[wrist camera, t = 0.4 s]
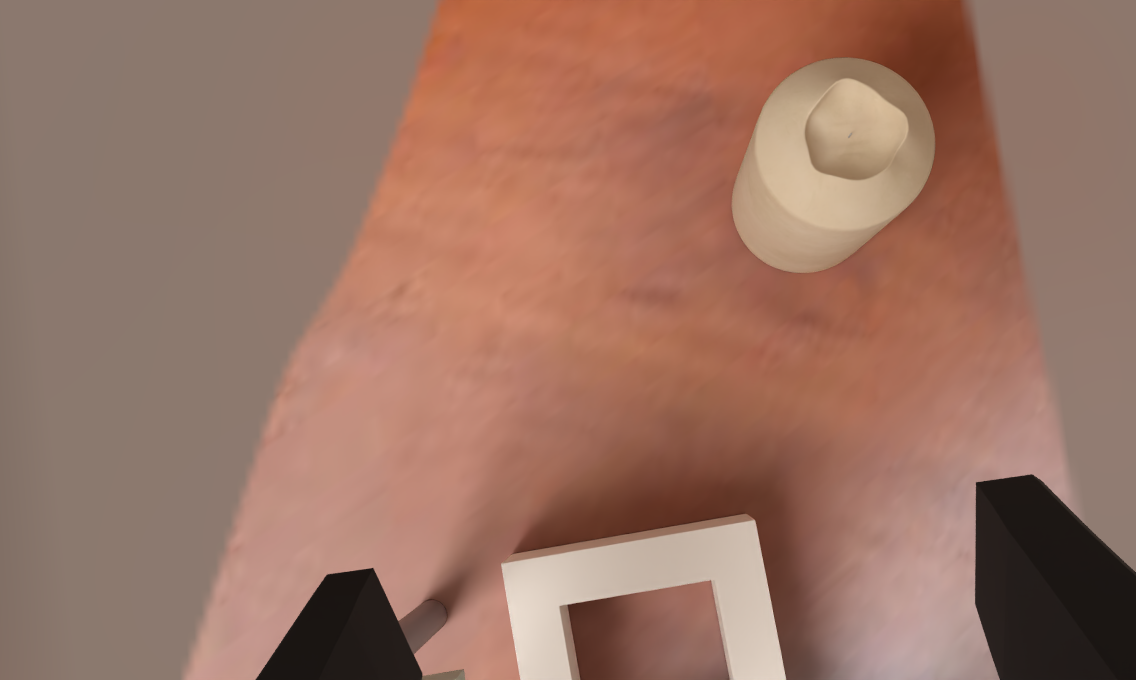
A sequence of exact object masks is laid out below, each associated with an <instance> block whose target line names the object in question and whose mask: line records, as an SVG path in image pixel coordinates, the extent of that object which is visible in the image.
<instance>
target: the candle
mask: <svg viewBox="0 0 1136 680" xmlns="http://www.w3.org/2000/svg"><path fill="white" fill-rule="evenodd" d="M934 155H935V134H934V128H933V123H932V120H931V117H930V114H929V112H928V110H927V108H926V106H925V103H924V102H923V100H922V99H921V97H920V96H919V94H918V93H917V92H916V90H915V89H914V88H913V87H912V86H911V85H910V84H909V83H908V82H907V81H906V80H905V79H904V78H902V77H901V76H900V75H898V74H897V73H895V72H894V71H892V70H891V69H889V68H887V67H885V66H883V65H880V64H878V63H875V62H872V61H868V60H864V59H859V58H848V57H844V58H831V59H825V60H821V61H818V62H814V63H811V64H809V65H807V66H805V67H802V68H800V69H799V70H797V71H796V72H794V73H792V74H791V75H790V76H788V77H787V78H786V79H785V80H783V81H782V82H781V83H780V84H779V85H778V86H777V87H776V88H775V90H774V91H773V92H772V94H771V95H770V96H769V98H768V99H767V101H766V103H765V105H764V106H763V108H762V111H761V113H760V116H759V119H758V121H757V124H756V126H755V129H754V132H753V135H752V137H751V140H750V143H749V145H748V148H747V151H746V154H745V156H744V159H743V162H742V164H741V167H740V170H739V172H738V175H737V178H736V181H735V185H734V189H733V194H732V213H733V219H734V222H735V226H736V229H737V231H738V233H739V235H740V237H741V239H742V240H743V242H744V244H745V245H746V246H747V247H748V249H749V250H750V251H751V252H752V253H753V254H754V255H755V256H756V257H758V258H759V259H760V260H762V261H763V262H765V263H767V264H768V265H770V266H772V267H775V268H777V269H780V270H784V271H788V272H795V273H811V272H818V271H822V270H825V269H828V268H831V267H833V266H835V265H837V264H839V263H841V262H842V261H844V260H845V259H847V258H848V257H849V256H851V255H852V254H853V253H855V252H856V251H857V250H858V249H859V248H860V247H862V246H863V245H864V244H865V243H866V242H867V241H869V240H870V239H871V238H872V237H873V236H874V235H876V234H877V233H878V232H879V231H880V230H881V229H883V228H884V227H885V226H886V225H887V224H888V223H890V222H891V221H892V220H893V219H894V218H895V217H896V216H898V215H899V214H900V213H901V212H902V211H903V210H905V209H906V208H907V207H908V206H909V205H910V204H911V203H912V202H913V201H914V200H915V198H916V197H917V196H918V194H919V193H920V192H921V190H922V189H923V187H924V185H925V183H926V181H927V180H928V177H929V174H930V172H931V169H932V165H933V161H934Z"/></svg>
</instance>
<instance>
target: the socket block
mask: <svg viewBox="0 0 1136 680" xmlns="http://www.w3.org/2000/svg"><path fill="white" fill-rule="evenodd" d="M501 566H502V572H503V578H504V584H505V590H506V596H507V602H508V608H509V614H510V620H511V626H512V632H513V638H514V644H515V650H516V656H517V662H518V668H519V674H520V680H580V675H579V669H578V663H577V657H576V652H575V646H574V640H573V634H572V629H571V623H570V617H569V611H568V606H567V605H568V604H573V603H579V602H585V601H591V600H597V599H603V598H609V597H615V596H621V595H627V594H632V593H638V592H644V591H650V590H656V589H662V588H668V587H674V586H680V585H685V584H691V583H697V582H703V581H709V580H711V583H712V588H713V593H714V599H715V604H716V609H717V615H718V620H719V625H720V630H721V636H722V641H723V646H724V652H725V657H726V662H727V667H728V673H729V678H730V680H786V676H785V671H784V666H783V661H782V656H781V650H780V645H779V640H778V635H777V630H776V625H775V620H774V615H773V609H772V604H771V599H770V594H769V589H768V584H767V579H766V573H765V568H764V563H763V558H762V553H761V548H760V543H759V538H758V532H757V527H756V522H755V520H754V519H753V518H752V517H750V516H749V515H748V514H741V515H735V516H729V517H724V518H718V519H712V520H706V521H700V522H695V523H689V524H683V525H677V526H671V527H666V528H660V529H654V530H648V531H643V532H637V533H631V534H625V535H619V536H614V537H608V538H602V539H596V540H591V541H585V542H579V543H573V544H567V545H562V546H556V547H550V548H544V549H539V550H533V551H527V552H521V553H515V554H511V555H510V556H509V557H508V558H507V559H506V560H505V561H504V562H503V563H502V564H501Z"/></svg>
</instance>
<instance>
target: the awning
mask: <svg viewBox="0 0 1136 680" xmlns="http://www.w3.org/2000/svg"><path fill="white" fill-rule="evenodd" d="M446 619H447V613H446V609H445V607H444V606H443V605H442V604H441V603H440V602H438V601H435V600H428V601H425V602H423V603H422V604H421V605H419V606H418V607H417V608H415V609H414V610H413V611H412V612H410V613H409V614H408V615H406V616H405V617H404V618H402V619H401V620H400V621H398V622H399V624H400V627H401V629H402V631H403V633H404V635H405V637H406V639H407V642H408V644H409V646H410V648H411V650H412V652H413V654H415V653H416V652H417V651H418V650H419V649H420V648H421V647H422V646H423V645H424V644H425V643H426V642H427V641H428V640H429V639H430V638H431V637H432V636H433V635H434V634H435V633H436V632H438V631H439V630H440V629H441V628H442V627H443V626H444V624H445V622H446ZM422 680H465V674H464V669H462V670H456V671H450V672H444V673H438V674H432V675H426V676H422Z"/></svg>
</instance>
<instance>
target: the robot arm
mask: <svg viewBox="0 0 1136 680" xmlns="http://www.w3.org/2000/svg"><path fill="white" fill-rule="evenodd" d="M975 605H976V608H977V611H978V614H979V617H980V620H981V624H982V627H983V630H984V633H985V636H986V639H987V642H988V646H989V649H990V652H991V655H992V658H993V661H994V664H995V667H996V670H997V673H998V676H999V678H1000V680H1136V572H1135V571H1134V570H1133V569H1131V568H1130V567H1129V566H1128V565H1127V564H1126V563H1125V562H1124V561H1123V560H1122V559H1121V558H1120V557H1119V556H1117V555H1116V554H1115V553H1114V552H1113V551H1112V550H1111V549H1110V548H1109V547H1108V546H1107V545H1106V544H1105V543H1104V542H1103V541H1101V539H1099V538H1098V537H1097V536H1096V535H1095V534H1094V533H1093V532H1092V531H1091V530H1090V529H1089V528H1088V527H1087V526H1086V525H1085V524H1084V523H1083V522H1082V521H1081V520H1080V519H1079V518H1078V517H1077V516H1076V515H1075V514H1074V513H1073V512H1072V511H1071V510H1070V509H1069V508H1068V507H1067V506H1066V505H1065V504H1064V503H1063V502H1062V501H1061V500H1060V499H1059V498H1058V497H1057V496H1056V495H1055V494H1054V493H1053V492H1052V491H1051V490H1050V489H1049V488H1048V487H1047V486H1046V485H1045V484H1044V483H1043V482H1042V481H1041V480H1040V479H1038V478H1037V477H1035V476H1034V475H1025V476H1018V477H1011V478H1004V479H997V480H990V481H983V482H976V567H975ZM256 680H422V672H421V670H420V667H419V665H418V663H417V661H416V659H415V657H414V654H413V652H412V650H411V648H410V646H409V644H408V642H407V639H406V637H405V635H404V633H403V631H402V629H401V627H400V624H399V622H398V620H397V618H396V616H395V614H394V612H393V609H392V607H391V605H390V603H389V601H388V599H387V596H386V594H385V592H384V590H383V588H382V586H381V584H380V581H379V579H378V577H377V575H376V573H375V571H374V569H373V568H370V569H363V570H356V571H349V572H342V573H335V574H328V575H326V577H325V578H324V580H323V581H322V582H321V584H320V585H319V587H318V588H317V590H316V591H315V592H314V594H313V595H312V597H311V598H310V600H309V601H308V603H307V604H306V606H305V607H304V609H303V610H302V612H301V613H300V615H299V616H298V617H297V619H296V620H295V622H294V623H293V625H292V626H291V628H290V629H289V631H288V632H287V634H286V635H285V637H284V638H283V640H282V641H281V643H280V644H279V646H278V647H277V649H276V650H275V652H274V653H273V655H272V656H271V658H270V659H269V661H268V662H267V664H266V665H265V667H264V668H263V670H262V671H261V673H260V674H259V676H258V677H257V678H256Z"/></svg>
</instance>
